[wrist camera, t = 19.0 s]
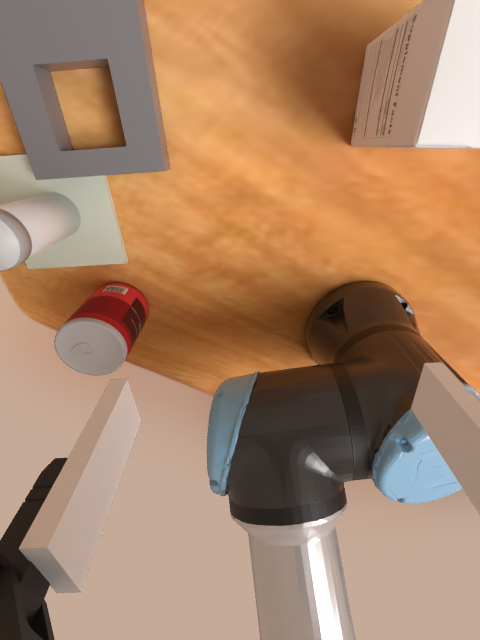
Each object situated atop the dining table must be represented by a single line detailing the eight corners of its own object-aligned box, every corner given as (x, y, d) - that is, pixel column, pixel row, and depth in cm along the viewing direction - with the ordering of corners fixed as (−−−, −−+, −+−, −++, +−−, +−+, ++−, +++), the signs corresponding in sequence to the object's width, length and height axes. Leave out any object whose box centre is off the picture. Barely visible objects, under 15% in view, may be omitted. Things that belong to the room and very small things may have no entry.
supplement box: (457, 43, 30) (627, -36, 17) (428, 148, 34) (544, 151, 21) (364, 41, 30) (463, -39, 17) (347, 147, 34) (414, 149, 21)
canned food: (82, 298, 43) (38, 341, 34) (124, 269, 41) (90, 307, 32) (120, 336, 47) (89, 386, 37) (161, 312, 44) (139, 358, 35)
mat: (128, 260, 41) (125, 263, 40) (32, 266, 41) (28, 269, 40) (99, 148, 34) (96, 149, 33) (-14, 157, 34) (-21, 157, 34)
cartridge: (87, 235, 38) (29, 269, 27) (46, 237, 38) (-27, 273, 28) (73, 190, 35) (3, 209, 25) (29, 193, 35) (-59, 213, 25)
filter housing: (170, 168, 35) (164, 170, 33) (51, 177, 36) (36, 180, 33) (121, -140, 24) (106, -174, 22) (-51, -123, 25) (-85, -154, 22)
